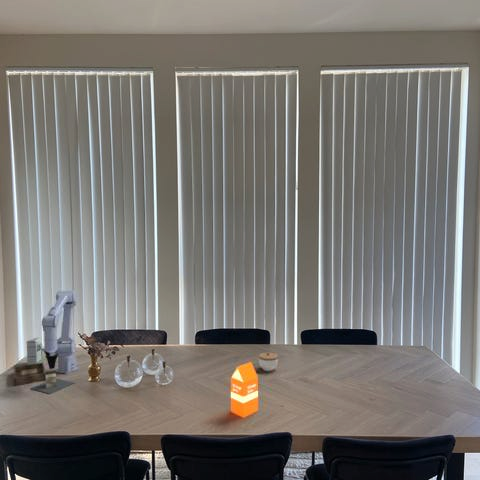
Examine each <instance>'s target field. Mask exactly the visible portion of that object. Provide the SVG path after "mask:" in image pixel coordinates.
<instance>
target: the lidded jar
mask: <svg viewBox="0 0 480 480" xmlns="http://www.w3.org/2000/svg"><path fill="white" fill-rule="evenodd" d="M258 361H259V363H258V364H259V365H260V367H261V369H262V370H263V371H265V372H272V371H274V370H275V369H276V368H277V366H278V362H279V356H278V354H277V353H275V352H269V351H268V352H262V353H259V354H258Z"/></svg>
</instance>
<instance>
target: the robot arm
mask: <svg viewBox="0 0 480 480" xmlns="http://www.w3.org/2000/svg"><path fill="white" fill-rule="evenodd" d="M55 301H56V302H55V305H54V306H53V305H52V307H51V308H50V309H49V311H48V313H47V314H46V315H45V316H43V317H42V320H41V327H42V331H43V341H44V345H43V346H44V348H42V352H44V354H45V358H46V361H47V364H48V367H49V370H52V369H55V370H54V372H55V373H59V374H60V373H61V374H67V375H68V374H69V373H72V372H74V371H77V370H79V368H78V367H77V365H78V363H77V357H76V356H75V355H74V354H75V351H76V348H77V347H76V345H77V344H76V339H75V338H74V337H72V335H71V332H72V323H73V311H74V307H75V306H76V305H77V303H78V302H77V301H78V292H77V291H76V290H58V291H57V292H56V294H55ZM62 308H63V309H62ZM62 313H63V314H62ZM61 315H62V324H61V333H60V337H58V326H59V322H60V317H61ZM56 361H57V365H58V366H57V369H56V368H55V367H56Z"/></svg>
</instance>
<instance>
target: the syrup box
mask: <svg viewBox="0 0 480 480" xmlns="http://www.w3.org/2000/svg"><path fill="white" fill-rule="evenodd" d="M42 344H43V343H42V337H32V338H30V339H28V340H26V362H27V364H26V365H30V364H36V363H42V362H43V351H42V349H43V347H42Z"/></svg>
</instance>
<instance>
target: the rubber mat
mask: <svg viewBox="0 0 480 480" xmlns="http://www.w3.org/2000/svg"><path fill="white" fill-rule="evenodd" d="M74 384H75V382H72V381H69V380H64V379H61V378H56V386H55V387H50V388H46V381H45V382H43V383H41V384H37V385H35V386H33V387H30V390H33V391H36V392H40V393H42V394H43V393H44V394H48V395H51V394H54V393H56V392H59V391H60V390H62V389H65V388H67V387H70V386H72V385H74Z"/></svg>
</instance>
